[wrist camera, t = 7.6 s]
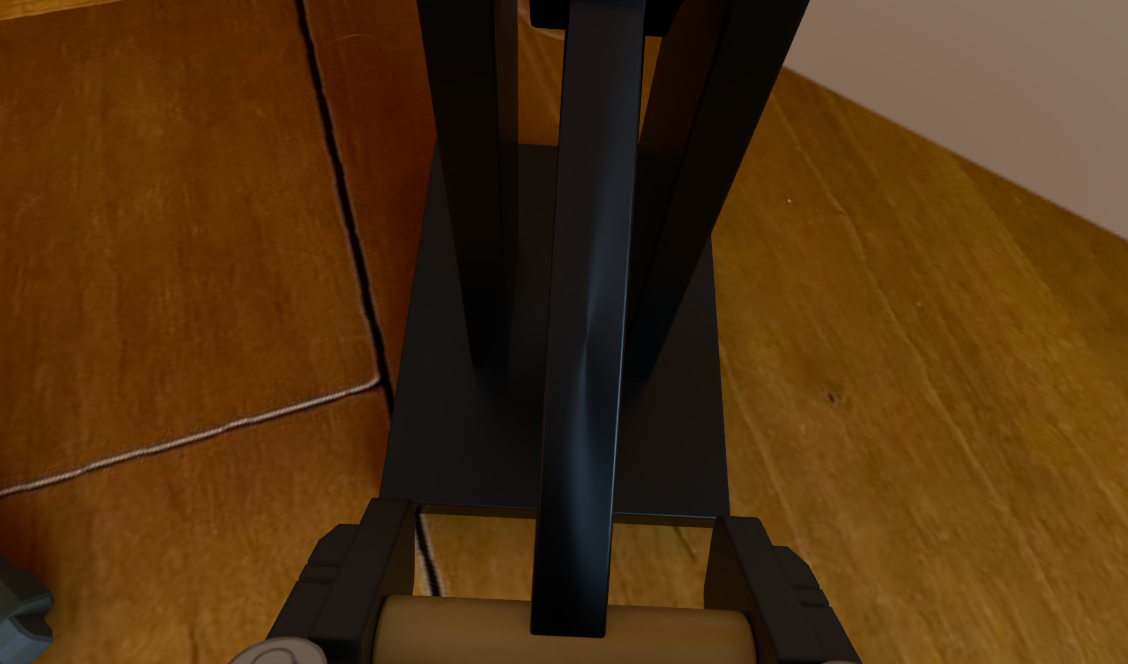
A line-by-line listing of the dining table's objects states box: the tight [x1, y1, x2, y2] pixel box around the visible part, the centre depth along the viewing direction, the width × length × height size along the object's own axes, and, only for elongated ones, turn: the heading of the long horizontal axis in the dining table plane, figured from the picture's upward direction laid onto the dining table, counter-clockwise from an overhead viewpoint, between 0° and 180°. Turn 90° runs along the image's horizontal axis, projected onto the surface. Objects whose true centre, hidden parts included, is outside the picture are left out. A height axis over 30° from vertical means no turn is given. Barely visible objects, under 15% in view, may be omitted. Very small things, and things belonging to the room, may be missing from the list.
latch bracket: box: [379, 0, 810, 528], centre depth 15 cm, size 12×9×15 cm
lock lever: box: [371, 0, 757, 664], centre depth 10 cm, size 13×6×2 cm, turn 178°
